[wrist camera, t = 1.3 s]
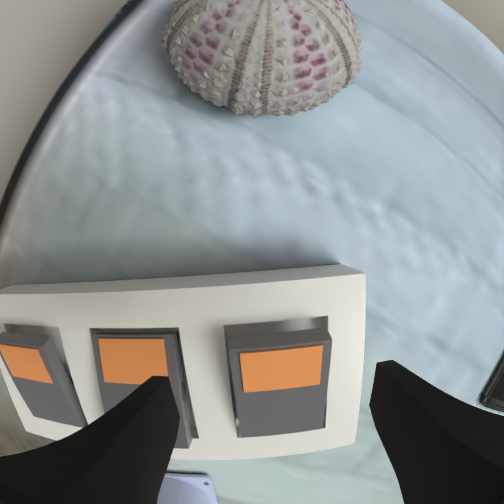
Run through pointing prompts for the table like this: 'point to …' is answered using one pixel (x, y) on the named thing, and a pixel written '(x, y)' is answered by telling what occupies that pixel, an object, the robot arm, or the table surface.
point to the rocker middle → (140, 369)
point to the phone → (495, 390)
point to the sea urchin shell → (263, 52)
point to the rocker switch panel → (202, 345)
